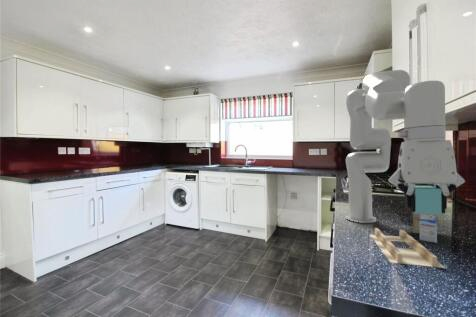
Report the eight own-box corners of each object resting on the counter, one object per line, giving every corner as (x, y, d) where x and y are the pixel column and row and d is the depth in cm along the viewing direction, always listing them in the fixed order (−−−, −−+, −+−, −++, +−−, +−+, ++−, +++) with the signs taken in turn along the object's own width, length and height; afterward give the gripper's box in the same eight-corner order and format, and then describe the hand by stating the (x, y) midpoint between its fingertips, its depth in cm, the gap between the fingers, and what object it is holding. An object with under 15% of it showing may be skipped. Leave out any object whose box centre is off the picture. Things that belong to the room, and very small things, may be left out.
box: (412, 233, 84) (412, 204, 84) (417, 231, 87) (417, 203, 87) (430, 237, 80) (429, 207, 80) (434, 235, 82) (434, 205, 82)
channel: (369, 238, 81) (369, 227, 81) (408, 241, 77) (408, 229, 77) (390, 267, 60) (390, 252, 60) (445, 273, 56) (445, 258, 56)
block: (406, 185, 57) (415, 188, 53) (429, 185, 56) (441, 188, 51) (406, 208, 57) (415, 213, 53) (430, 209, 56) (441, 214, 51)
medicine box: (419, 237, 81) (419, 213, 81) (436, 240, 78) (435, 215, 78) (419, 244, 75) (419, 218, 75) (437, 247, 72) (436, 220, 72)
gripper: (388, 136, 52) (389, 213, 52) (481, 131, 47) (482, 217, 47) (378, 138, 59) (379, 206, 60) (458, 134, 54) (459, 209, 54)
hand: (425, 210), depth 53 cm, fingers closed on block, 5 cm apart
